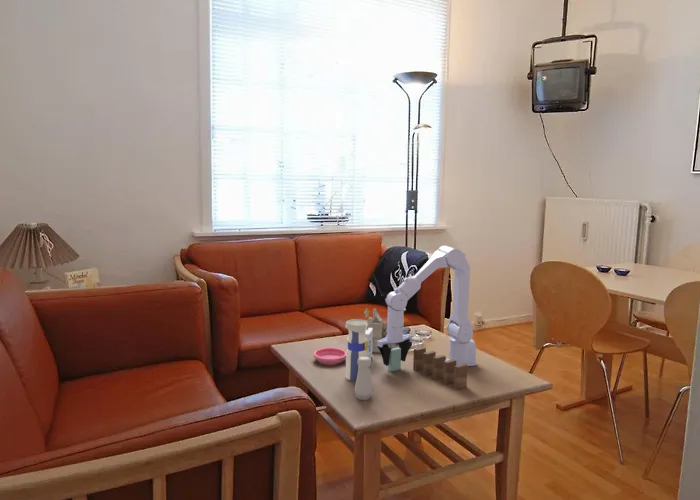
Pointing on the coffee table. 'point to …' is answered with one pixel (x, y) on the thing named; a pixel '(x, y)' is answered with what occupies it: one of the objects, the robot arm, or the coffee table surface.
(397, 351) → the domino
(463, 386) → the domino
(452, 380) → the domino
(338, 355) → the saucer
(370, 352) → the ink box
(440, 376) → the domino
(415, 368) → the domino
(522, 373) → the coffee table surface
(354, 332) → the water bottle
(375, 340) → the ceramic cottage
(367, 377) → the salt shaker
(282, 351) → the coffee table surface
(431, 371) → the domino
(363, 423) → the coffee table surface
